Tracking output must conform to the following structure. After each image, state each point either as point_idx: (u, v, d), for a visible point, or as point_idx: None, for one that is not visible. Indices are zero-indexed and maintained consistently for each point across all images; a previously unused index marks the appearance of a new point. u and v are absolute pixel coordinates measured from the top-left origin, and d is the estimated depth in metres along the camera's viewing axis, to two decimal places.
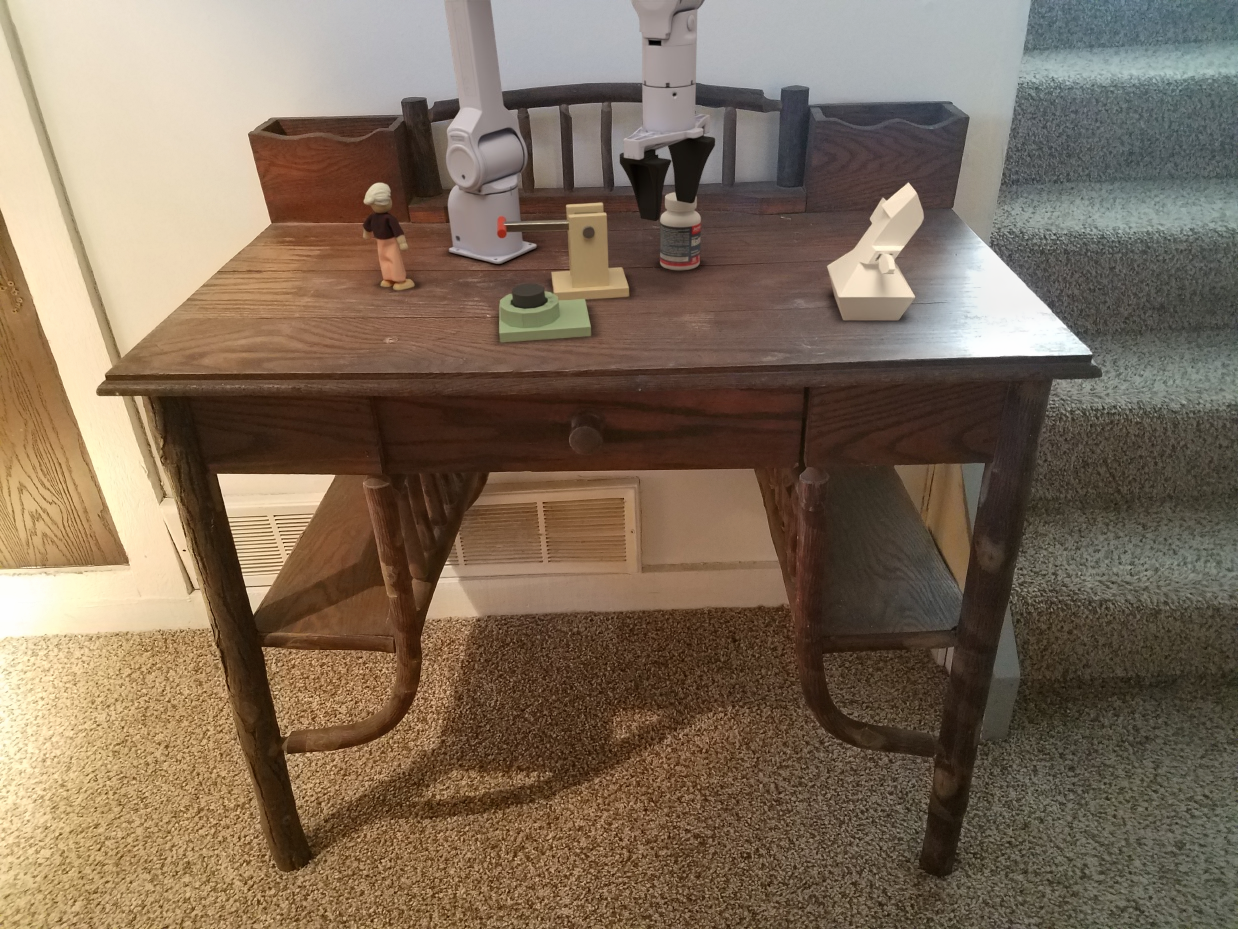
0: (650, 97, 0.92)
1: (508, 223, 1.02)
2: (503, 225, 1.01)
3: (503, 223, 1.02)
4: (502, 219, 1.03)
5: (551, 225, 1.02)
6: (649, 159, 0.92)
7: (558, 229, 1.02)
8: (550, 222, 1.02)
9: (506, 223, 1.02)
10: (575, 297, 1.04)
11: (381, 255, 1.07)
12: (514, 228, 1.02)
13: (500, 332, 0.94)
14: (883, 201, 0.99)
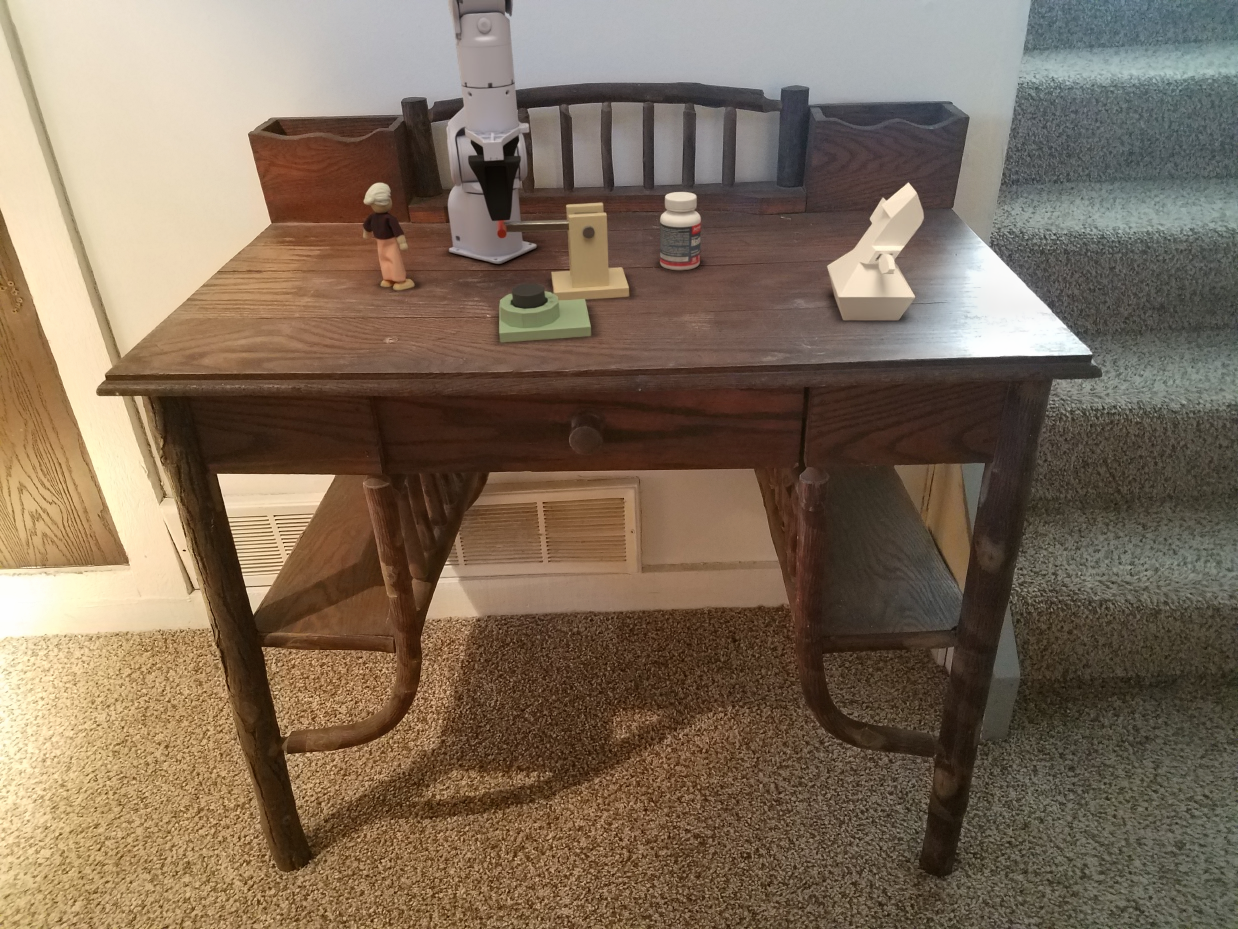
0: (484, 99, 0.92)
1: (508, 223, 1.02)
2: (503, 225, 1.01)
3: (503, 223, 1.02)
4: None
5: (551, 225, 1.02)
6: (504, 158, 0.93)
7: (558, 229, 1.02)
8: (550, 222, 1.02)
9: (506, 223, 1.02)
10: (575, 297, 1.04)
11: (381, 255, 1.07)
12: (514, 228, 1.02)
13: (500, 332, 0.94)
14: (883, 201, 0.99)
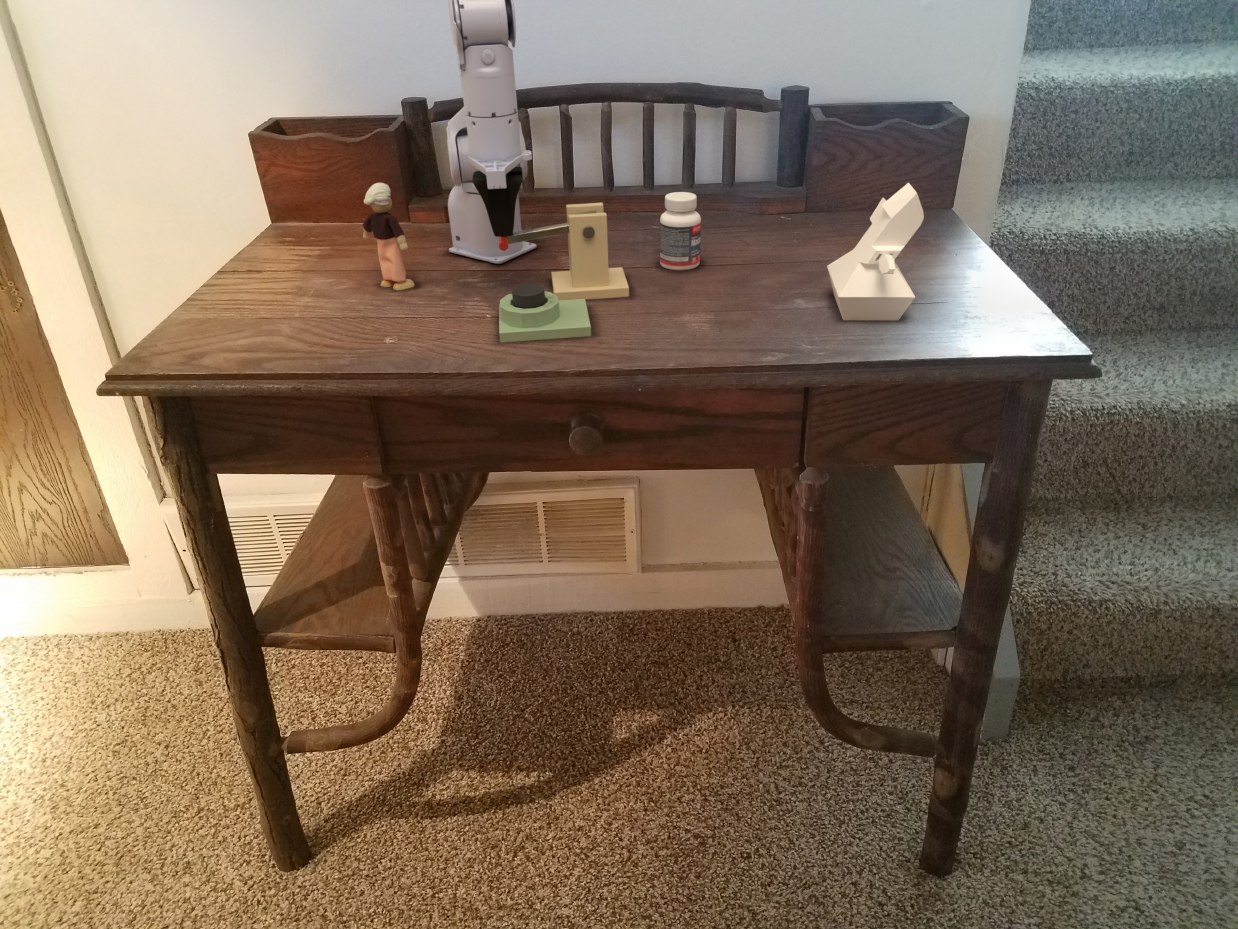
0: (487, 128, 0.93)
1: None
2: (504, 237, 1.02)
3: None
4: None
5: (551, 230, 1.02)
6: (507, 178, 0.97)
7: (559, 233, 1.03)
8: (550, 227, 1.02)
9: None
10: (575, 297, 1.04)
11: (381, 255, 1.07)
12: (515, 239, 1.02)
13: (500, 332, 0.94)
14: (883, 201, 0.99)
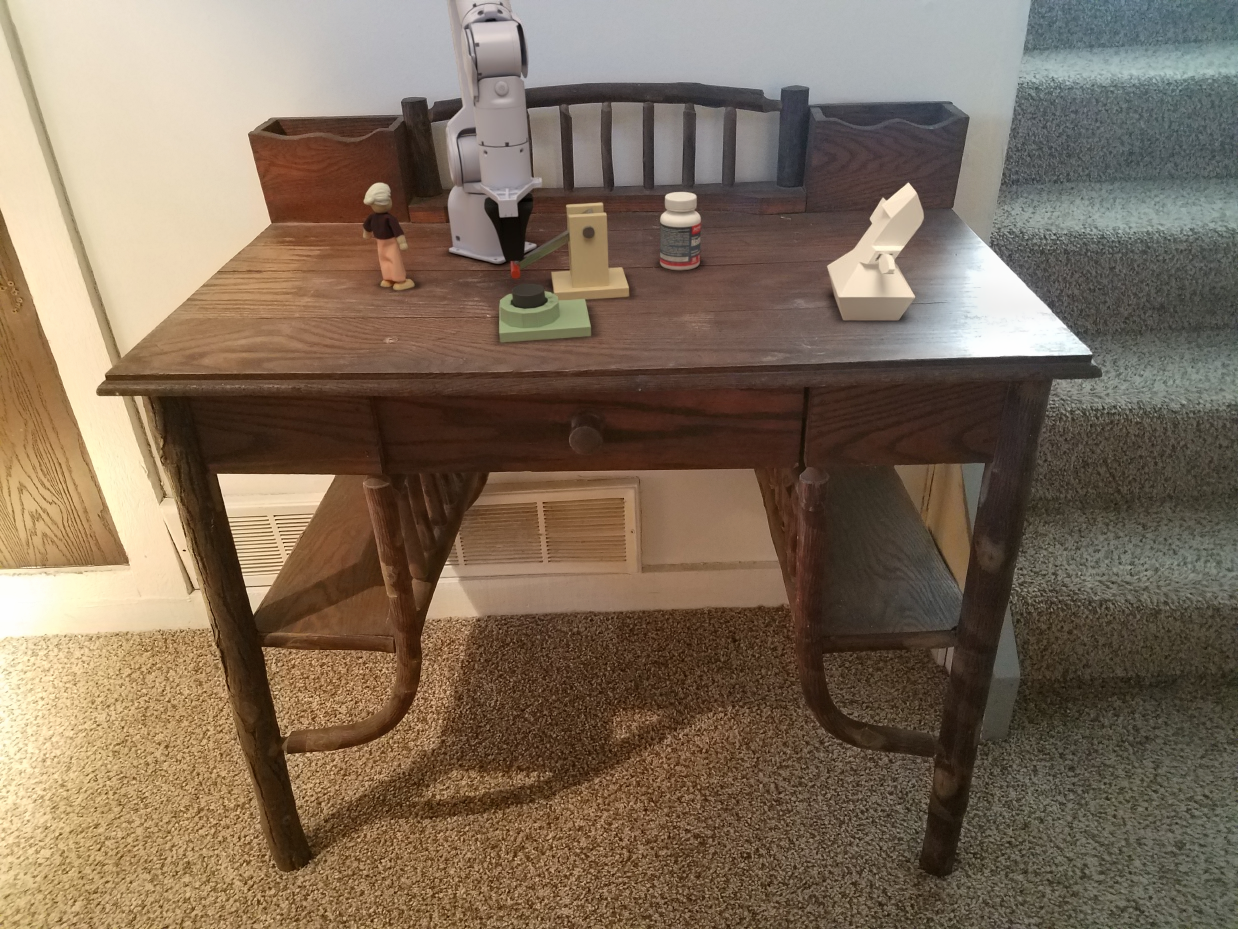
0: (499, 157, 0.95)
1: (518, 261, 1.04)
2: (514, 265, 1.04)
3: (514, 263, 1.04)
4: None
5: (555, 243, 1.03)
6: (518, 205, 0.99)
7: (563, 242, 1.03)
8: (553, 240, 1.03)
9: (517, 262, 1.04)
10: (575, 297, 1.04)
11: (381, 255, 1.07)
12: (526, 263, 1.04)
13: (500, 332, 0.94)
14: (883, 201, 0.99)
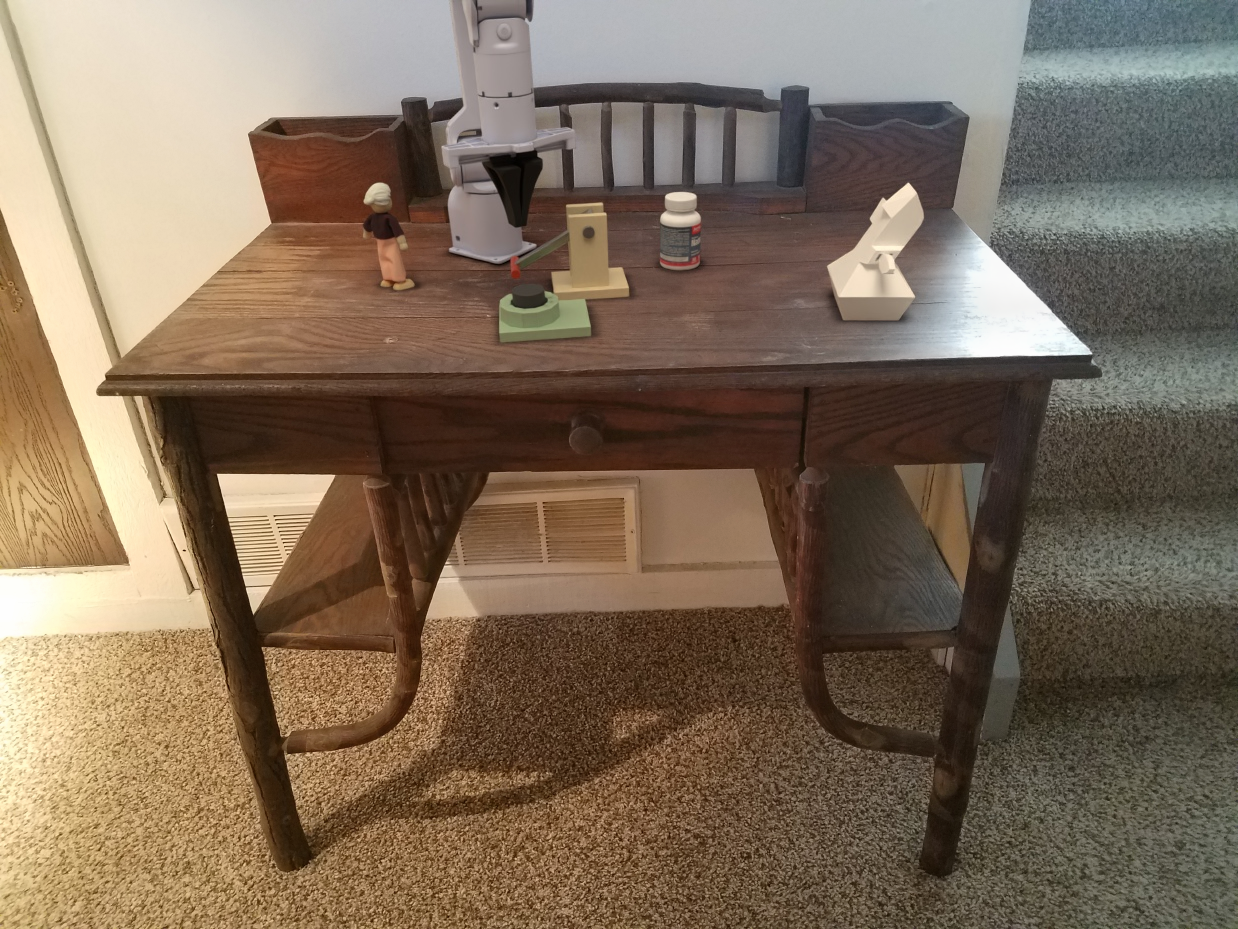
0: (480, 106, 0.88)
1: (518, 261, 1.04)
2: (514, 265, 1.04)
3: (514, 263, 1.04)
4: (513, 260, 1.05)
5: (555, 243, 1.03)
6: (499, 164, 0.91)
7: (563, 242, 1.03)
8: (553, 240, 1.03)
9: (517, 262, 1.04)
10: (575, 297, 1.04)
11: (381, 255, 1.07)
12: (526, 263, 1.04)
13: (500, 332, 0.94)
14: (883, 201, 0.99)
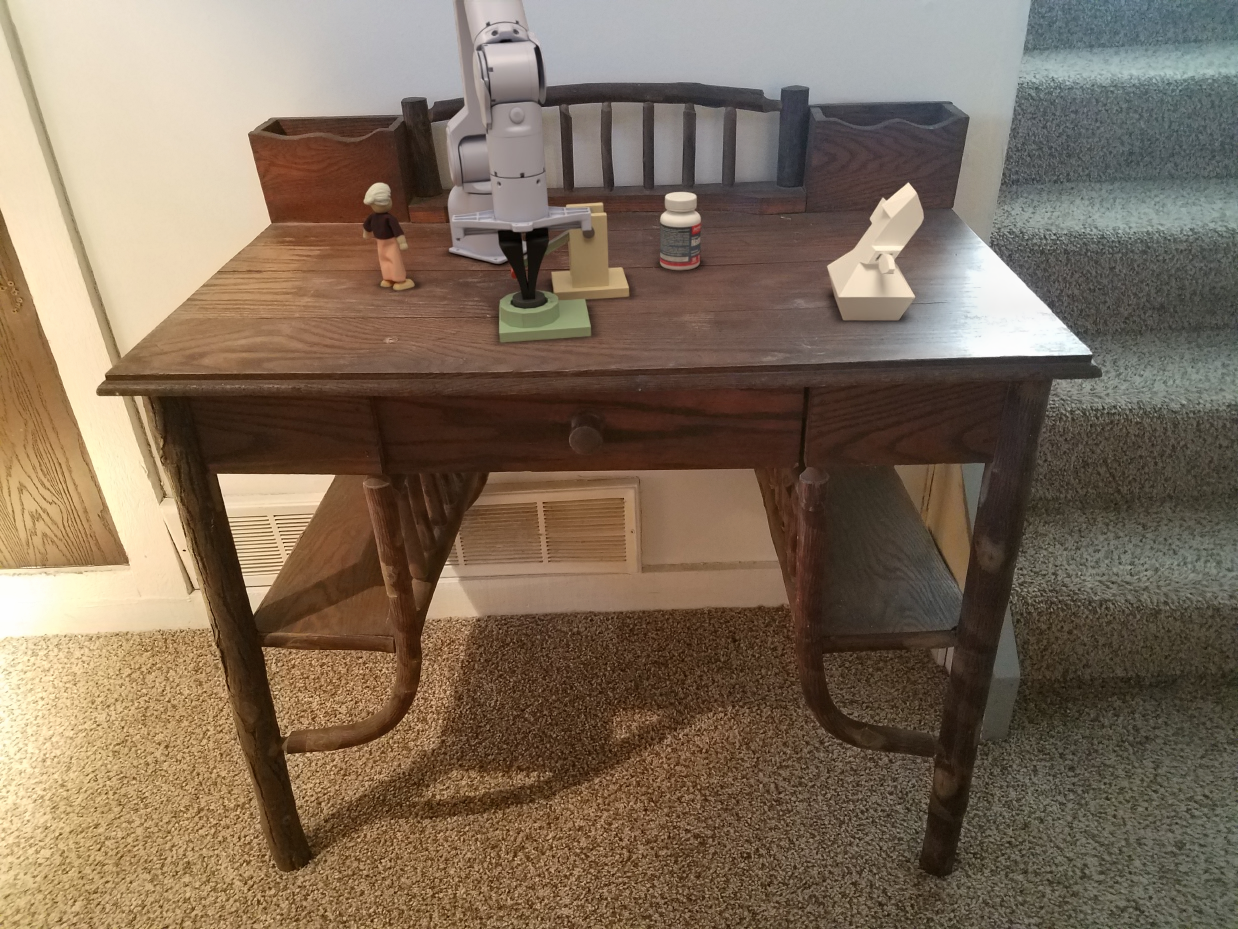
0: None
1: None
2: None
3: None
4: None
5: (555, 243, 1.03)
6: (505, 238, 0.92)
7: (563, 242, 1.03)
8: (553, 240, 1.03)
9: None
10: (575, 297, 1.04)
11: (381, 255, 1.07)
12: (526, 263, 1.04)
13: (500, 332, 0.94)
14: (883, 201, 0.99)
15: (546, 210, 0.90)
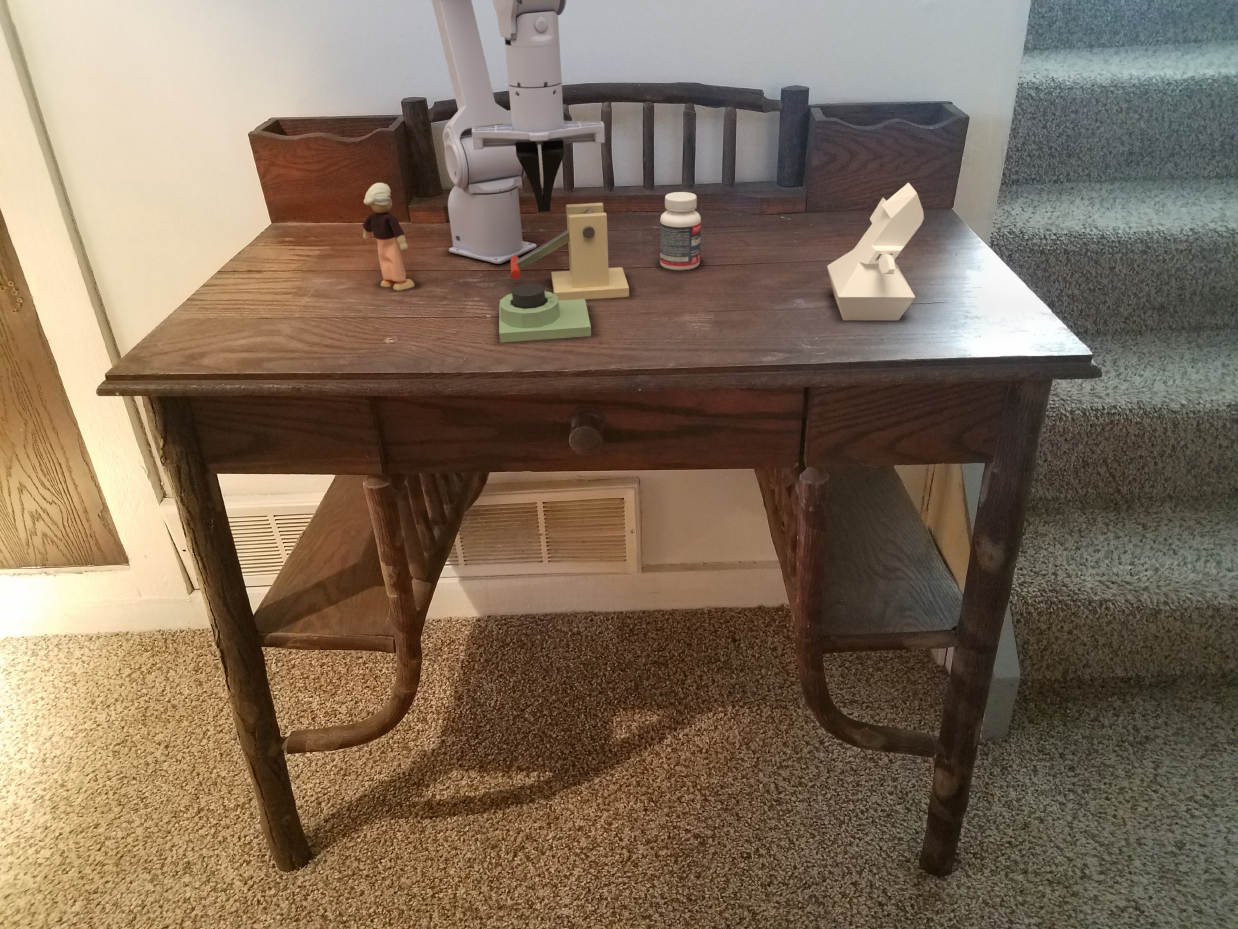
0: None
1: (518, 261, 1.04)
2: (514, 265, 1.04)
3: (514, 263, 1.04)
4: (513, 260, 1.05)
5: (555, 243, 1.03)
6: (522, 150, 0.96)
7: (563, 242, 1.03)
8: (553, 240, 1.03)
9: (517, 262, 1.04)
10: (575, 297, 1.04)
11: (381, 255, 1.07)
12: (526, 263, 1.04)
13: (500, 332, 0.94)
14: (883, 201, 0.99)
15: (562, 122, 0.95)
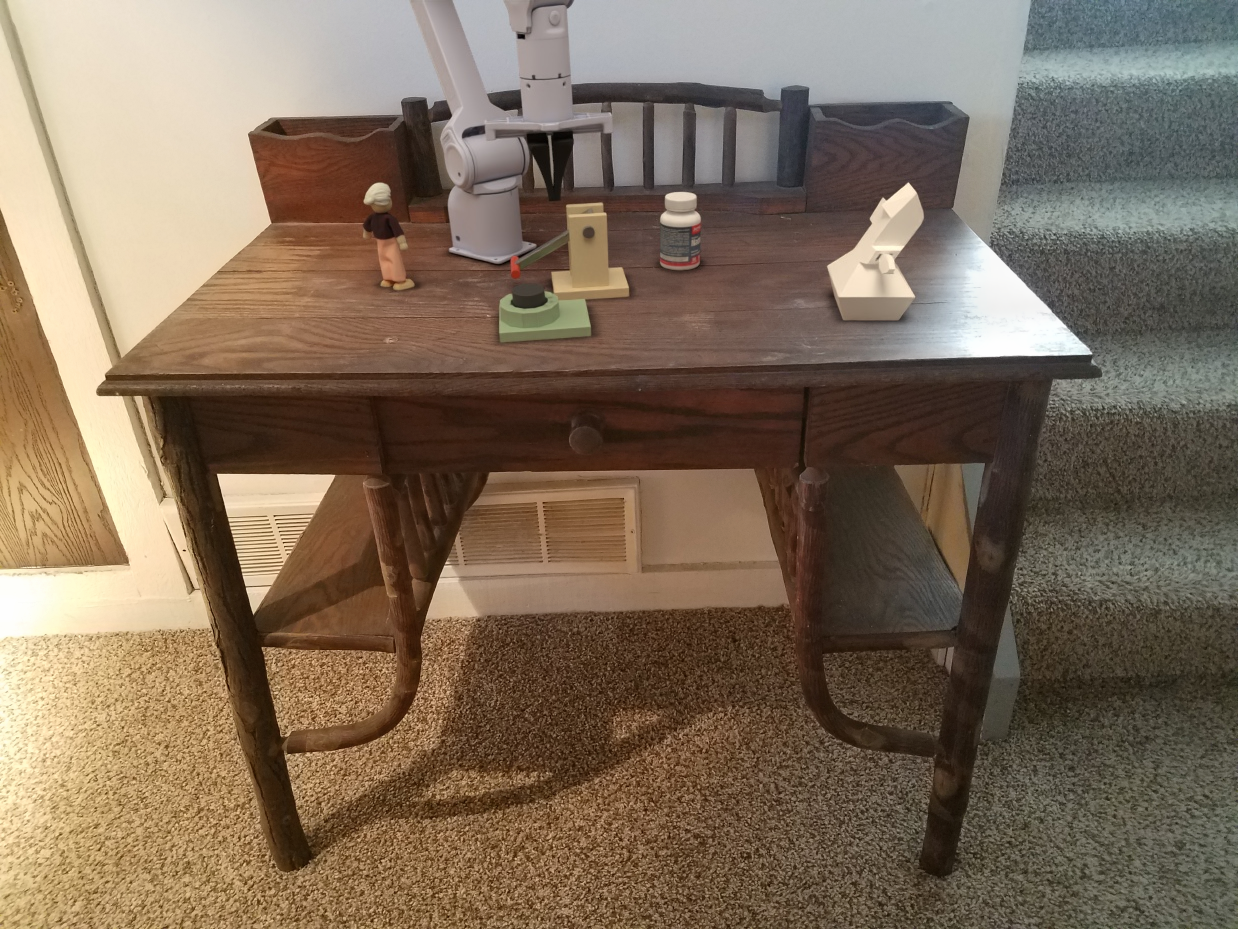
0: None
1: (518, 261, 1.04)
2: (514, 265, 1.04)
3: (514, 263, 1.04)
4: (513, 260, 1.05)
5: (555, 243, 1.03)
6: (533, 141, 0.99)
7: (563, 242, 1.03)
8: (553, 240, 1.03)
9: (517, 262, 1.04)
10: (575, 297, 1.04)
11: (381, 255, 1.07)
12: (526, 263, 1.04)
13: (500, 332, 0.94)
14: (883, 201, 0.99)
15: (571, 113, 0.98)
